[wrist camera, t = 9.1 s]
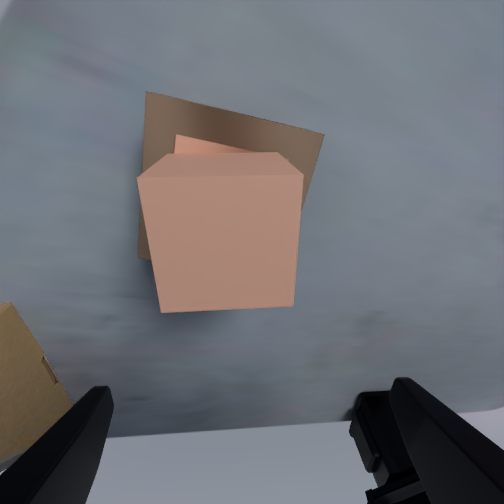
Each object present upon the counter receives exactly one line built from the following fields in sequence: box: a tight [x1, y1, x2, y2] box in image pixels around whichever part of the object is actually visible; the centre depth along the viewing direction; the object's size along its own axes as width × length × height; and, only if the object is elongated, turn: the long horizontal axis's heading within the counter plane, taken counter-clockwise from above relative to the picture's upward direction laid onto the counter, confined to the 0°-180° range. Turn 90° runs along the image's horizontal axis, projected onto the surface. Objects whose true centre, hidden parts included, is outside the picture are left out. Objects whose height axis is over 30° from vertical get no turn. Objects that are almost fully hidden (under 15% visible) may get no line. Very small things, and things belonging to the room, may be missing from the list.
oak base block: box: [138, 91, 324, 260], centre depth 16 cm, size 8×8×4 cm
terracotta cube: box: [137, 152, 304, 313], centre depth 12 cm, size 5×5×5 cm
